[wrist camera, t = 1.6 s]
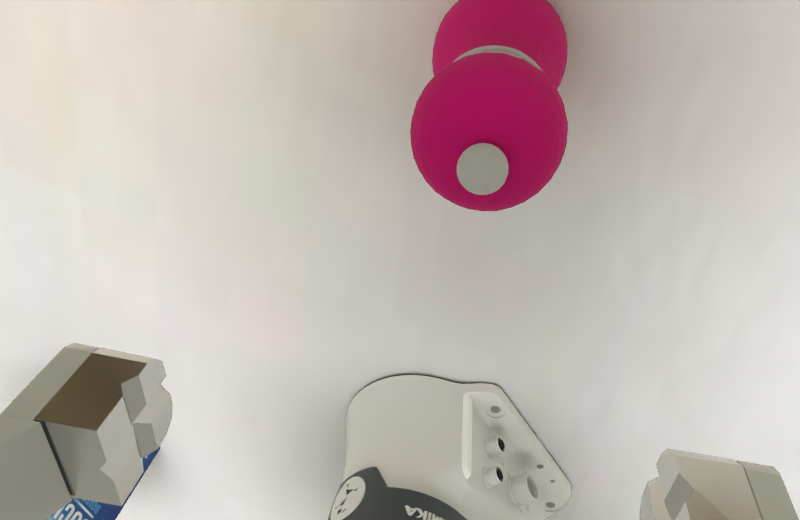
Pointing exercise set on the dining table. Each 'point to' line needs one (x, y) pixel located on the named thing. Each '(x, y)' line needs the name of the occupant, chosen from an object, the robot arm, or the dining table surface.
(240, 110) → the dining table surface
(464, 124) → the pepper mill
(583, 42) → the dining table surface
